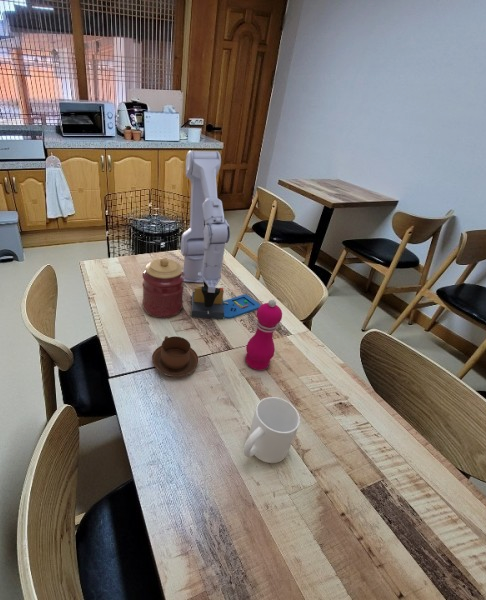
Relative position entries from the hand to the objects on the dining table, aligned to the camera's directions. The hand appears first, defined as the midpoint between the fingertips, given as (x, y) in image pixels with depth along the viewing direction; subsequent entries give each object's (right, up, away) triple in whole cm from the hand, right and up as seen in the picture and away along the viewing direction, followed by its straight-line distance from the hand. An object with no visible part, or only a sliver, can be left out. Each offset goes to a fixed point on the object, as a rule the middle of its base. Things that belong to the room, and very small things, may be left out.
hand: (208, 299), depth 109 cm
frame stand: (0, -3, +2) cm, 3 cm away
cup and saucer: (-11, -17, -20) cm, 28 cm away
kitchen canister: (-15, -2, +1) cm, 15 cm away
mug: (+7, -31, -39) cm, 51 cm away
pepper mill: (+11, -17, -18) cm, 27 cm away
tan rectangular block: (0, -1, 0) cm, 1 cm away
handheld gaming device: (+10, -3, +3) cm, 11 cm away
